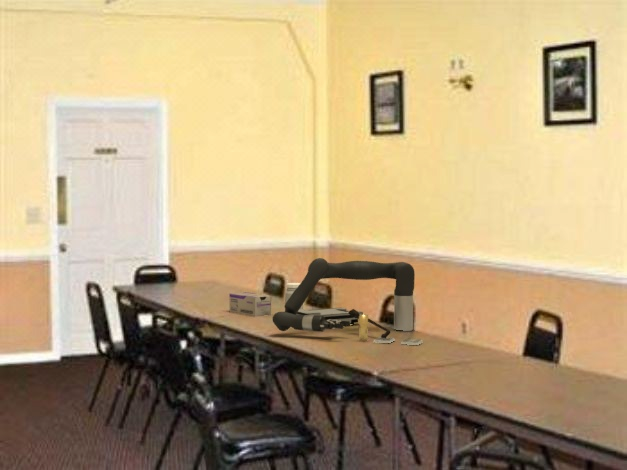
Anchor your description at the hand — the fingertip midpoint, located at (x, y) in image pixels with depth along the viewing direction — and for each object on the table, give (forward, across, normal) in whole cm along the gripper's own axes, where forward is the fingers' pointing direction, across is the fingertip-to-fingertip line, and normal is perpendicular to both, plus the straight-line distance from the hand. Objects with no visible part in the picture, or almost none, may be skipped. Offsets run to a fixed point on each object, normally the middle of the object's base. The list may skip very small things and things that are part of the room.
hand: (346, 324), depth 447 cm
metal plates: (+25, 0, +7) cm, 26 cm away
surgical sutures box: (-82, +64, +7) cm, 104 cm away
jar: (-54, +61, +7) cm, 81 cm away
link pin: (+8, 0, +7) cm, 11 cm away
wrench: (+7, +13, +2) cm, 15 cm away
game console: (-27, +40, +7) cm, 48 cm away
